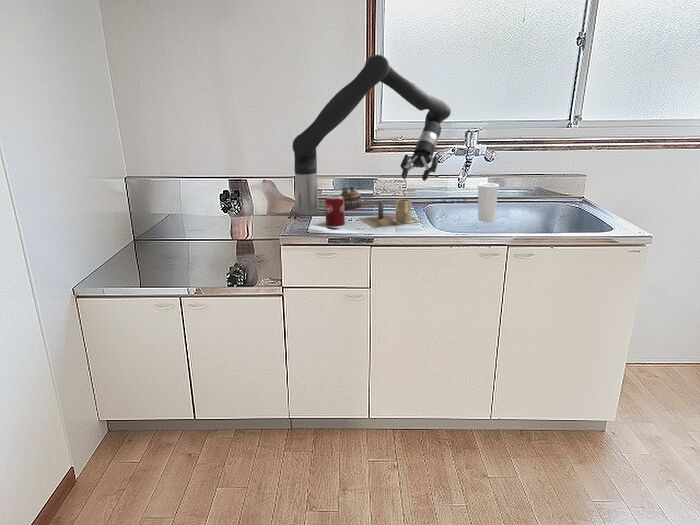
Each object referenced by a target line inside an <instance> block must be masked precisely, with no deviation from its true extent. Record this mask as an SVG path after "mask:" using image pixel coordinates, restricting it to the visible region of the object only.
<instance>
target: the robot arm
mask: <svg viewBox="0 0 700 525" xmlns="http://www.w3.org/2000/svg"><path fill="white" fill-rule="evenodd" d="M380 82H381V83H382V84H384V85H385V86H386V87H388V88H390V89H391V90H393V91H394V92H396V93H397V94H398V95H399V97H402V99H404V100H405V101H406V102H407V103H409V104H410V105H411V106H413V107H414V108H416V109H417V110H418V111H425V110H428V111H427V113H426V115H425V121H424V127H423V128H422V129H423V130H422V131H421V134H420V135H419V137H418V140H417V142H416V146H415V148H414V150H413V154H412V155H411V156H409V155H408V154H405V155H404V157H403V158H402V161H401V163H400V169H401V170H402V172H401V177H402V179H403V180H406V178H407V177H408V174H409V171H411V170H413V169H414V168H421V169H422V168H425V169H424V171H423V174H422V178H421V179H422V181H424V182H425V181H426V180H428V178H429V175H430V174H431V173H435V172H436V171H437V168H438V163H439V159H438V157H437V156H436V155H435V156H433V155H434V153H435V150H436V148H437V145H438V140H439V138H440V135H441V132H442V125H441V124H442V123H443V122H444V121H445V120H447V119H448V118H449V117H450V116H451V112H452V109H451V107H450V105H449V104H448V103H447V102H445V101H444V100H443V99H441V98H440V99H439V98H437V97H435V96H433V95H429V94H428V93H427V92H426V91H424V90H423V89H422V88H420V87H419V86H418V85H416V84H415V83H413V82H411V81H410V80H409V79H407V78H405V77H404V76H402V75H401V74H399V73H398V72H397V71H396V70H395V69H393V67H392V66H391V65H390V63H389V60H388V58H386V57H385V56H383V55H381V54H374V55H370V56H369V57H368V58H367V59H365V62H364V67H363V68H362V69H361V71H360V72H358V74H357V75H356V77H355V78H353V80H351V81H350V82H349V83H347V84H346V85H345V86H343V87H342V88H341V89H340V90H339V91H338V92H337V93H336V94H335V95H333V97H332V98H331V99H330V100H329V101H328V102H327V103H326V104H325V105H324V107H323V109H322V110H321V111H320V112H319V113H318V115H317V116H316V118H315V119H314V121H313V122H312V123H311V124H310V125H309V126H308V127H307V128H306V129H305V130H303V131H302V132H301V133H300V134H298V135H297V136H296V137H295V138H293V140H292V151H293V154H294V156H293V157H294V182H295V183H294V185H295V190H294V191H293V192H294V205H295V208H294V209H295V213H296V214H297V215H299V216H312V215H316V214H318V213H319V195H318V190H319V189H318V174H317V168H318V167H317V164H318V162H317V147H318V146H319V145H320V143H321V142H322V141H323V140H324V139H325V138H326V136H327V135H328V134H329V133H331V132H332V131H333V130H334V129H335V128H337V127H338V126H339V125H340V124H341V123H342V122H343V121H345V119H346V118H347V117H349V115H350V114H351V113H352V112H353V111H354V110H355V109H356V107H357V106H358V105H359V104H360V102H361V101H362V100H363V99H364V97H365V96H366V94H368V92H370V90H372V89H373V88H374V87H375V86H377V84H379V83H380ZM430 163H431V166H430V167H429V164H430Z"/></svg>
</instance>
